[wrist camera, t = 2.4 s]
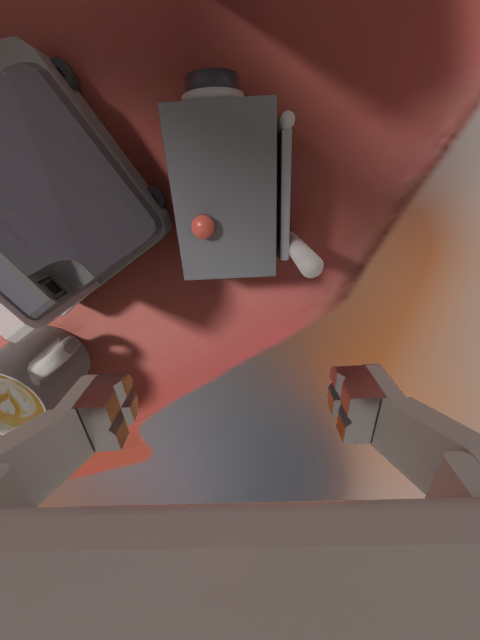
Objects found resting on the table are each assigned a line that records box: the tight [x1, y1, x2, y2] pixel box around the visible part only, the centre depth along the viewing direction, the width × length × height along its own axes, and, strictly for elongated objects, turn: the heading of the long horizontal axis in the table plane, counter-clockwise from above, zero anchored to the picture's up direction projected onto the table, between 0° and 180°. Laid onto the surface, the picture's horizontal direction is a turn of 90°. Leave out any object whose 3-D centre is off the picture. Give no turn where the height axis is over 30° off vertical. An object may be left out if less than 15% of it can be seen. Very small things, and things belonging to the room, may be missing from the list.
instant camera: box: [0, 35, 173, 343], centre depth 23 cm, size 21×21×15 cm
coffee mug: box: [0, 326, 91, 435], centre depth 35 cm, size 13×10×10 cm
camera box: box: [157, 68, 277, 281], centre depth 26 cm, size 16×9×8 cm, turn 3°
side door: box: [276, 110, 324, 278], centre depth 24 cm, size 12×3×12 cm, turn 3°
